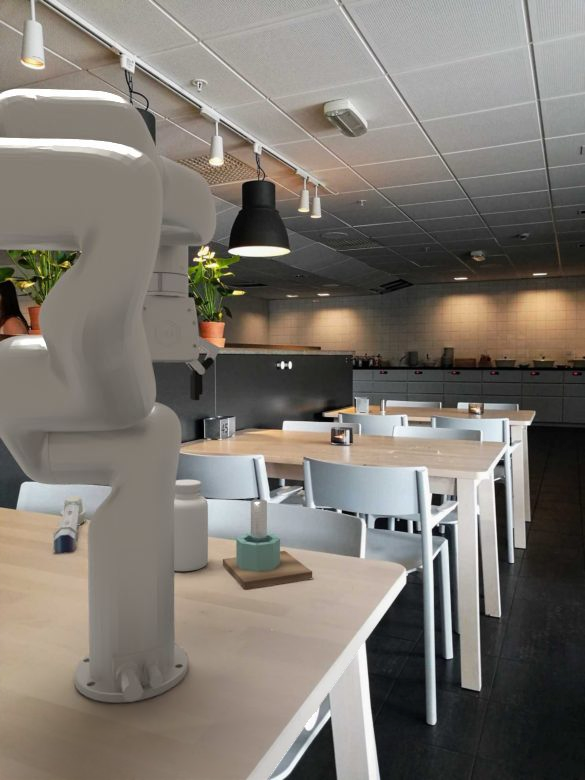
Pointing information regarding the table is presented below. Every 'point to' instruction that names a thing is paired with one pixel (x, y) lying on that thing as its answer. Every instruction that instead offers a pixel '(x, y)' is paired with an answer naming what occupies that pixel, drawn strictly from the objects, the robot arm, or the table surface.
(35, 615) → the table surface
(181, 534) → the pill bottle
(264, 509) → the grey metal peg
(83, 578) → the table surface
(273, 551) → the ring
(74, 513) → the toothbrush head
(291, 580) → the board
